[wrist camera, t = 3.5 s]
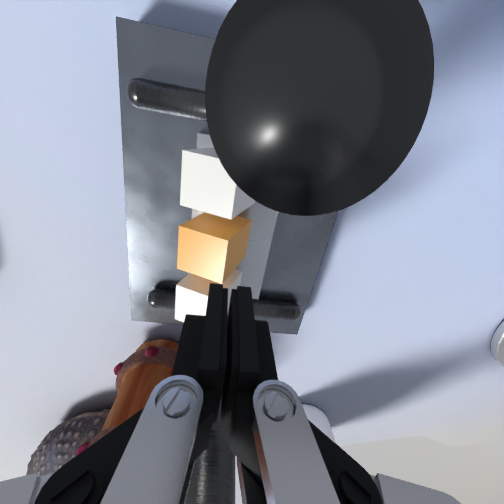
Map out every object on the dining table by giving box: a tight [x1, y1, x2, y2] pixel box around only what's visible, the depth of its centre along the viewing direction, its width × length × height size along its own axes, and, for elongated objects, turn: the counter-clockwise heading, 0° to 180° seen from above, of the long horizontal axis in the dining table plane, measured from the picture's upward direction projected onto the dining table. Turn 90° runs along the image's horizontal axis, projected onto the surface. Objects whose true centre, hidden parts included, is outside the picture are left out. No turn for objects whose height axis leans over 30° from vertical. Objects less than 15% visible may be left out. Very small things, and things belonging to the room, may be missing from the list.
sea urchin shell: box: [26, 409, 110, 476], centre depth 34 cm, size 19×19×10 cm
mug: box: [76, 339, 179, 456], centre depth 25 cm, size 15×8×15 cm, turn 179°
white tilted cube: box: [180, 148, 255, 219], centre depth 15 cm, size 3×3×4 cm
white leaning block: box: [175, 268, 243, 322], centre depth 18 cm, size 3×3×4 cm
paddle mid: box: [177, 212, 252, 284], centre depth 17 cm, size 3×3×4 cm
